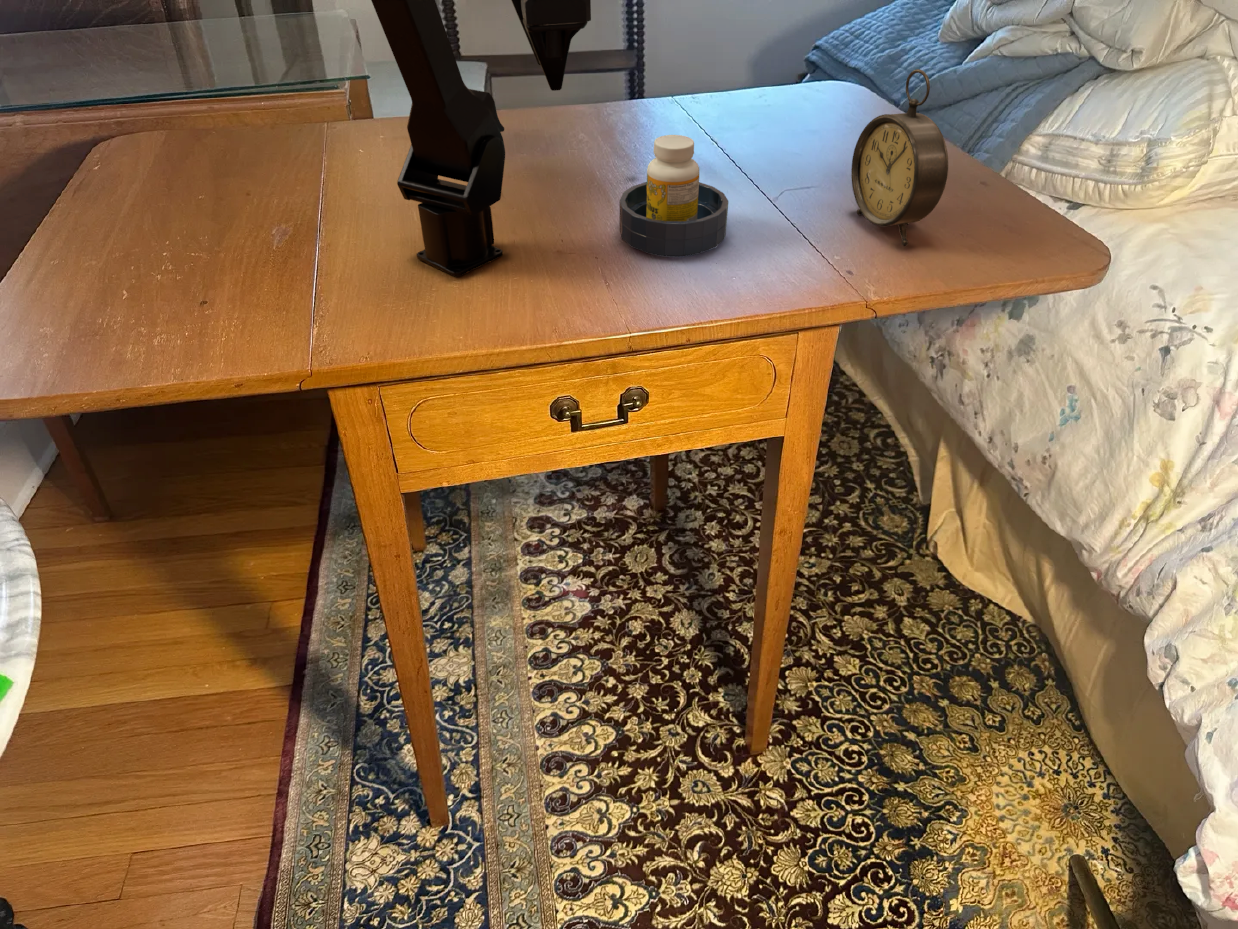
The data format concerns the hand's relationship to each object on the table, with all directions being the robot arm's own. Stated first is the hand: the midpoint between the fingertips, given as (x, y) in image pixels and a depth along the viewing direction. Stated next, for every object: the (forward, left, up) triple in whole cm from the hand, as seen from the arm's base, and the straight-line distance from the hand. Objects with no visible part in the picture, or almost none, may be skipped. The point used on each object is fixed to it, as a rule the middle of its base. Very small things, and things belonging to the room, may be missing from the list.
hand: (549, 76), depth 93 cm
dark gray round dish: (0, -17, -13) cm, 22 cm away
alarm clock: (+17, -34, -13) cm, 40 cm away
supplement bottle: (0, -17, -13) cm, 21 cm away
